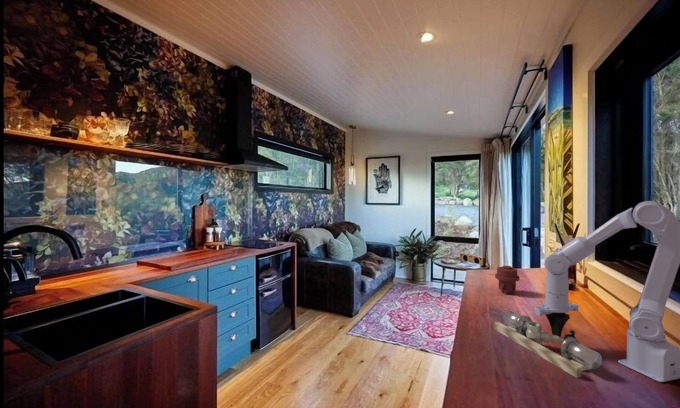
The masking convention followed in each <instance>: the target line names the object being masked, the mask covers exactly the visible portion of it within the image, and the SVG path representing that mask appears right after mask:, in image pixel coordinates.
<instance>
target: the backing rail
mask: <svg viewBox="0 0 680 408" xmlns="http://www.w3.org/2000/svg"><path fill="white" fill-rule="evenodd" d="M493 330H494V331H496V332H498V333H500V334H501V335H503V336H505V337H507V338H508V339H510V340H512V341H513V342H514V343H517V344H518V345H520V346H522V347H523V348H525V349H527V350H529V351H531V352H532V353H534V354H536V355H537V356H538V357H541V358H542V359H544V360H546V362H547V361H548V362H549V363H551V364H553V365H554V366H556V367H557V368H559V369H561V370H563V371H564V372H566V373H567V374H569V375H571V376H573V377H575V378H576V379H578V378H582V371H581V367H580V366H578V365H576V364H574V363H573V362H571V361H570V360H569V359H566V358H565V357H563V356H561V354H560V355H559V354H558V353H557V352H554V351H553V350H550V349H549V348H547V347H545V346H543V345H540V344H538V343H536V342H534V341H532V340H531V339H529V338H527V336H525V335H524V334H521V333H518V332H516V331H514V330H512V329H510V328H509V327H508V326H506V325H505V324H504V323H501V322H500V321H493Z"/></svg>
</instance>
